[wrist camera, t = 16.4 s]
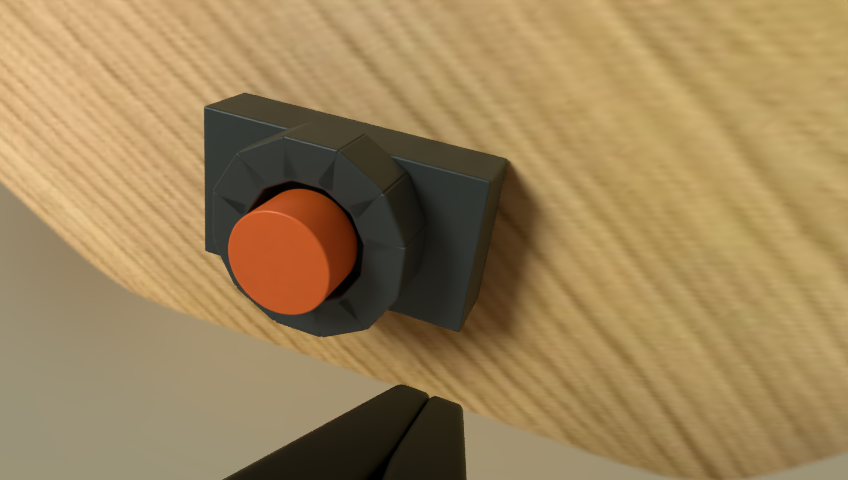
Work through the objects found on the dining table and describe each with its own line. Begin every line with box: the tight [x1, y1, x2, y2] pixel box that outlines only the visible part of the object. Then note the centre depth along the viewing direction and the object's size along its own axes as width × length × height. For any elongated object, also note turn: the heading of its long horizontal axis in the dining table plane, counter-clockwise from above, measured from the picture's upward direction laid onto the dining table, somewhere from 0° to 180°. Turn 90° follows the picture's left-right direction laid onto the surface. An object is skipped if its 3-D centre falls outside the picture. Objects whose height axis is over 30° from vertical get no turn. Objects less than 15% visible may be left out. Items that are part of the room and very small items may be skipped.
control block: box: [204, 93, 507, 337], centre depth 19 cm, size 9×6×4 cm, turn 81°
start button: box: [228, 189, 357, 315], centre depth 17 cm, size 3×3×2 cm
